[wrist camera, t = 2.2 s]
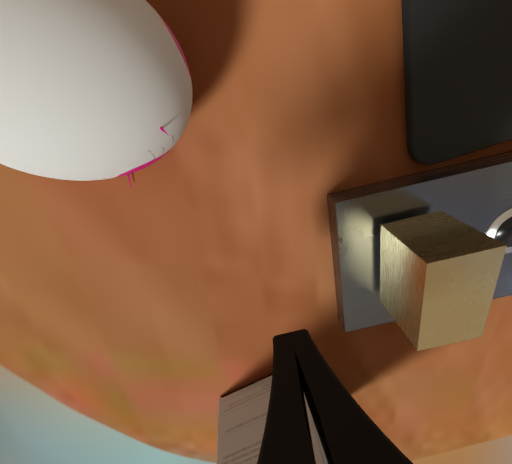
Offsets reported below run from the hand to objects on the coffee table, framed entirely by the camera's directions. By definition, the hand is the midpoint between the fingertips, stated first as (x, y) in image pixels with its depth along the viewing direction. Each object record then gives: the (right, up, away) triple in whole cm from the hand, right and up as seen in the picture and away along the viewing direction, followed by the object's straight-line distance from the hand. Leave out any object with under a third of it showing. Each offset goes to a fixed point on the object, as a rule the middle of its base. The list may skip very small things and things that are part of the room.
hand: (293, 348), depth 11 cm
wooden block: (+7, +3, +3) cm, 8 cm away
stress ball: (-8, +10, 0) cm, 13 cm away
